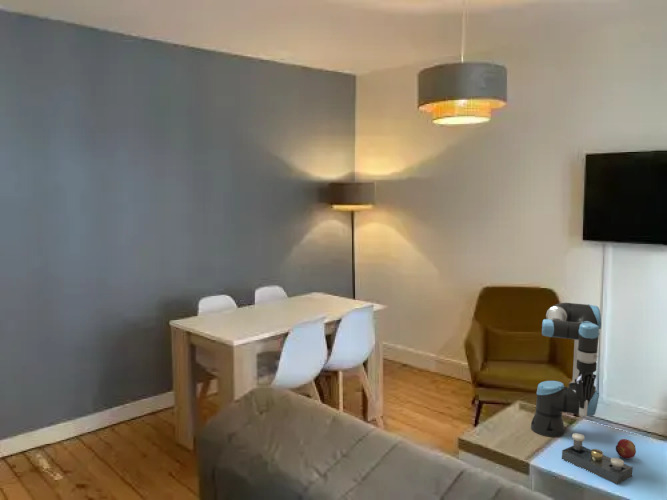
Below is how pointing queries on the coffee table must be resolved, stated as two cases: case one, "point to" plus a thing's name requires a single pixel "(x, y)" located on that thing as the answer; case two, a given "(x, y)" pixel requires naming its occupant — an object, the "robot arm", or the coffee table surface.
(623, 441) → the fruit
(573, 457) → the panel
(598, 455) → the brass dial
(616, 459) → the knob
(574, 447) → the knob
